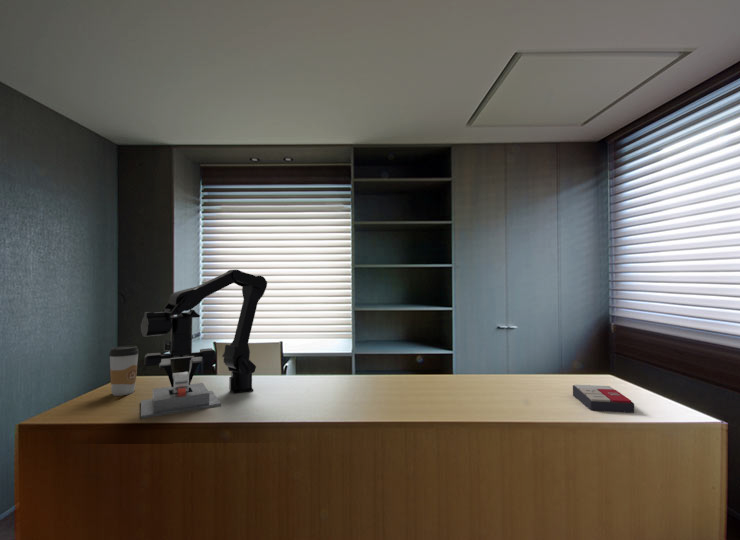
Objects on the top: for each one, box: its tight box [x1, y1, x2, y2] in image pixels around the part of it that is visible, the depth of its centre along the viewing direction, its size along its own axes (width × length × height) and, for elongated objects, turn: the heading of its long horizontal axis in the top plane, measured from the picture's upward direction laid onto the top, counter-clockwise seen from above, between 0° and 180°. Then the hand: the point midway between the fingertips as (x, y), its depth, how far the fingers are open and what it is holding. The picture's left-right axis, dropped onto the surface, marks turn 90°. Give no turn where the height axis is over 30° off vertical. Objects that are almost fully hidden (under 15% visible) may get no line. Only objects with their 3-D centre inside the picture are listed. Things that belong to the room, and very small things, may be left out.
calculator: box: [572, 384, 635, 414], centre depth 110 cm, size 11×4×15 cm
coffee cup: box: [108, 345, 140, 397], centre depth 123 cm, size 8×8×15 cm
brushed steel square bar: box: [172, 371, 189, 395], centre depth 111 cm, size 4×4×9 cm
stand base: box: [140, 382, 222, 420], centre depth 111 cm, size 20×16×6 cm
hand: (180, 385), depth 111 cm, fingers closed on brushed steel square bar, 4 cm apart
